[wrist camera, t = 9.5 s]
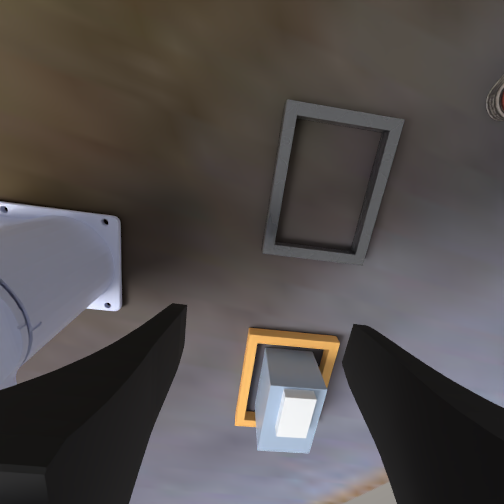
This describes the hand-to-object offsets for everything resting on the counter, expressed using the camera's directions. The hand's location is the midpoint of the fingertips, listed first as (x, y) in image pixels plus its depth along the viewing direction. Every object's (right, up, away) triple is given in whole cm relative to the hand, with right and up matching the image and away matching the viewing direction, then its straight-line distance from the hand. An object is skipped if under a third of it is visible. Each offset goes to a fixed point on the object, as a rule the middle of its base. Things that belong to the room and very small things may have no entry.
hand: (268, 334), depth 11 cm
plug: (+2, -9, +14) cm, 17 cm away
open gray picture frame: (+5, +8, +8) cm, 13 cm away
